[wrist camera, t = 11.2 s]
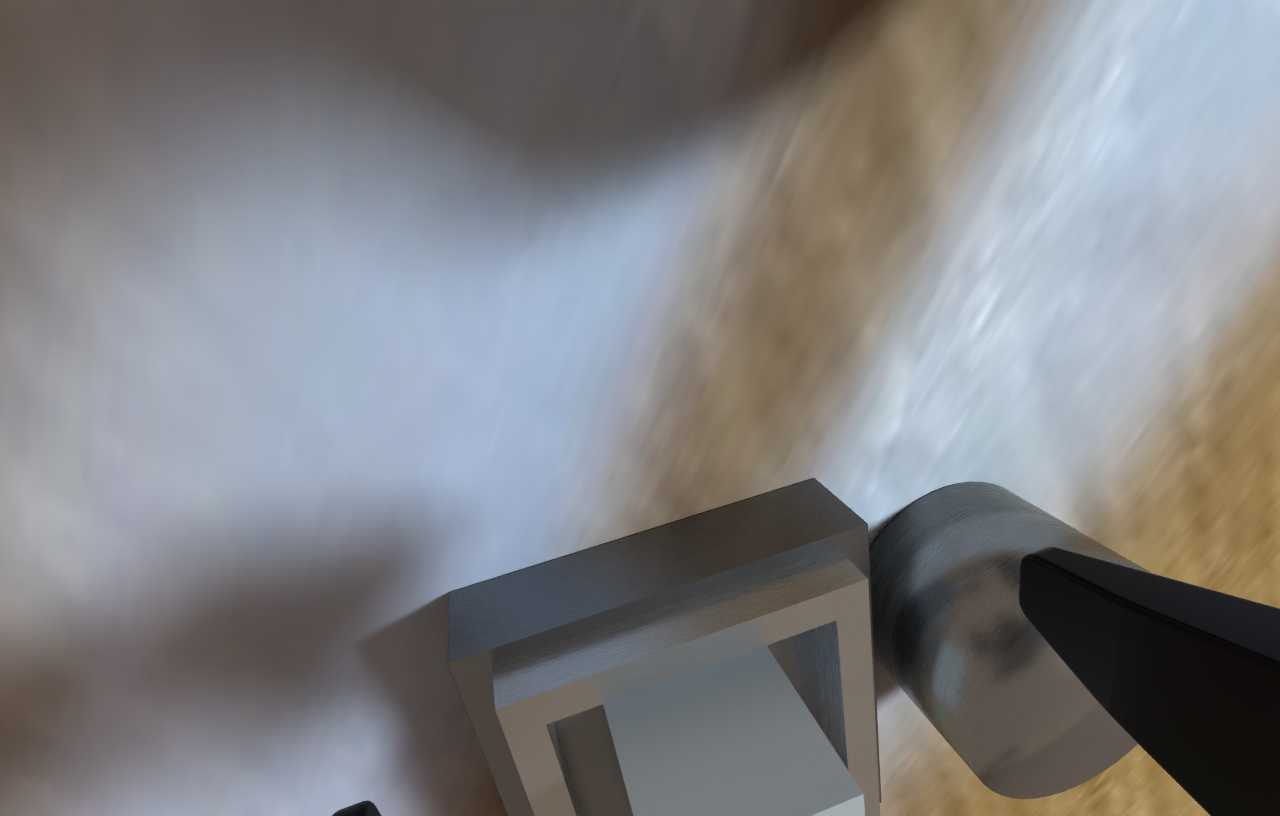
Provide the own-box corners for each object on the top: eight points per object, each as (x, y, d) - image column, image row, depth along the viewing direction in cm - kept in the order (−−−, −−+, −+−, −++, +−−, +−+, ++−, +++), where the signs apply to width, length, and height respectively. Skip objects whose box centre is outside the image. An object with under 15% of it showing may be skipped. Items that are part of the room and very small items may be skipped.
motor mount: (1043, 406, 22) (1230, 480, 17) (1024, 660, 27) (1167, 783, 22) (449, 592, 19) (445, 763, 13) (545, 849, 23) (571, 1054, 18)
